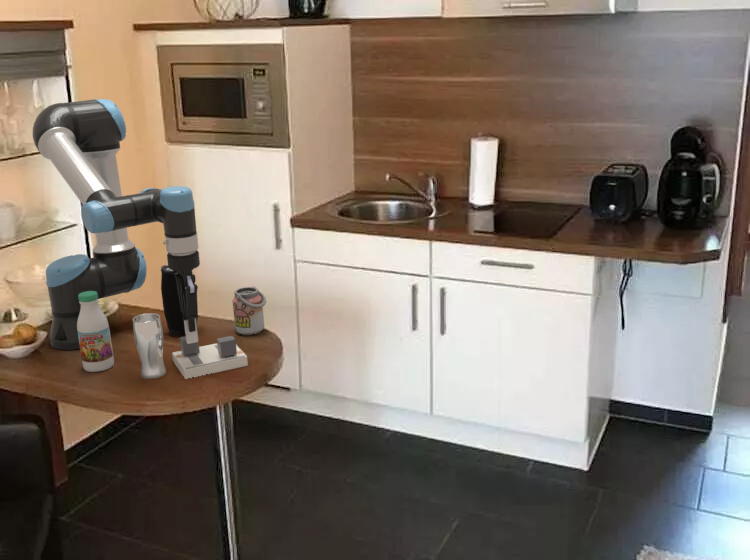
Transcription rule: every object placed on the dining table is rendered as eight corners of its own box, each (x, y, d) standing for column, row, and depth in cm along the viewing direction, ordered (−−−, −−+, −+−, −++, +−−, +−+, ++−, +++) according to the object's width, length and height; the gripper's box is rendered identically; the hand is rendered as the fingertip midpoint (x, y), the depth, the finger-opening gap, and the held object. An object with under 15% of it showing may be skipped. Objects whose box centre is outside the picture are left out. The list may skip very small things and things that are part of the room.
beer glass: (139, 381, 204) (131, 324, 199) (139, 370, 210) (131, 315, 206) (168, 377, 206) (161, 320, 201) (167, 366, 212) (160, 311, 207)
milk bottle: (82, 364, 216) (71, 291, 210) (113, 358, 219) (102, 286, 213) (84, 375, 209) (71, 300, 203) (115, 369, 212) (104, 295, 206)
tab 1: (181, 352, 213) (179, 337, 212) (196, 348, 215) (195, 334, 214) (184, 355, 211) (182, 341, 209) (199, 352, 212) (197, 338, 211)
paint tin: (273, 328, 235) (270, 287, 231) (256, 338, 228) (252, 297, 224) (247, 324, 239) (243, 284, 236) (229, 334, 232) (225, 293, 228)
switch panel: (173, 361, 215) (171, 352, 214) (232, 348, 221) (232, 339, 221) (185, 379, 204) (184, 369, 203) (247, 365, 210) (247, 356, 209)
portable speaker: (198, 336, 232) (190, 269, 226) (164, 338, 231) (155, 271, 225) (201, 325, 240) (194, 260, 234) (169, 327, 239) (160, 262, 233)
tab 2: (218, 353, 211) (216, 338, 210) (233, 350, 213) (232, 335, 212) (221, 357, 209) (220, 342, 207) (236, 354, 210) (235, 339, 209)
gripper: (161, 247, 204) (171, 336, 212) (173, 260, 193) (183, 354, 200) (191, 242, 207) (200, 330, 215) (205, 255, 196) (214, 348, 203)
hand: (192, 341), depth 207 cm, fingers closed
